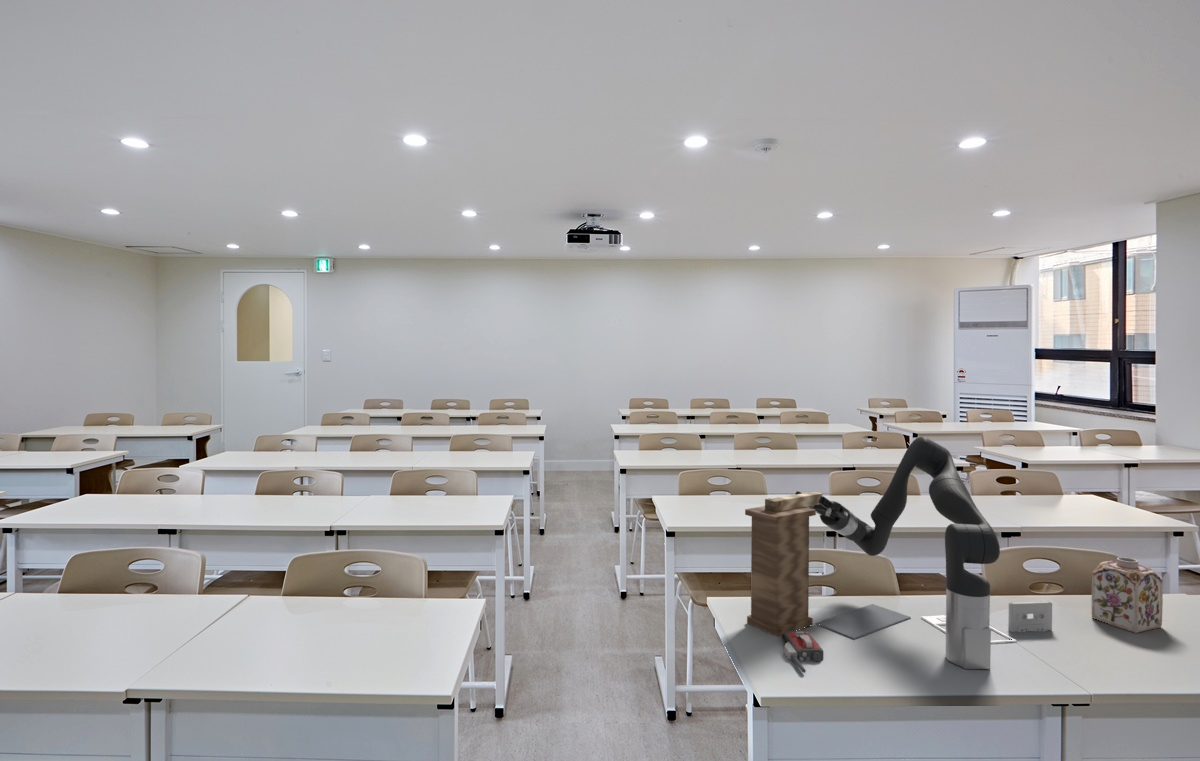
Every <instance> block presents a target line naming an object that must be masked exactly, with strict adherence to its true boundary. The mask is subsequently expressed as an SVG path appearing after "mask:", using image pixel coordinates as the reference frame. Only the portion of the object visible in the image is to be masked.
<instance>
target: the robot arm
mask: <svg viewBox="0 0 1200 761" xmlns="http://www.w3.org/2000/svg"><path fill="white" fill-rule="evenodd" d="M914 468H917V469H919V470H921V471H922V472H923V473H926V474H927V475H929V476H931V478H932V480H931V482H930V483H929V487H928V494H929V498H930V500H931V502H932V504H933V506H934V508H935V509H936V511H937V512H938V514H940V516H942V517H944V518H946V519H947V520H949V521H950V522H952V523H950V524H949V525H947V527H946V529H945V531H944V532H945V533H944V550H945V577H946V580H945V581H946V587H945V588H946V589H945V590H946V591H945V592H946V593H945V596H946V597H945V615H946V625H945V630H946V633H945V658H946V660H947V661H948V662H951V663H952V664H954V665H956V666H959V667H961V668H963V669H966V670H969V669H970V670H990V669H991V655H992V654H991V650H992V649H991V646H992V644H991V641H992V640H991V639H992V637H991V636H992V633H991V632H992V630H991V629H989V626H990V619H991V618H990V613H991V612H990V610H991V607H990V606H991V601H990V600H991V584H990V582H989V580H987V579H985V577H982V576H981V575H980V576H979V575H977V574H975V573H973V572H970V571H968V570H966V569H965V567H964V564H974V565H975V564H976V565H977V564H978V565H990V564H993V563H996V562H997V561H998V559H999V558H1000V554H1001V548H1000V542H999V539H998V537H997V534H996V533H995V531H994V529H993V527H992V525H991V524H989V522H988V520H987V519H986V518H985V517H984V516H983V514H982V513H981V511H980V510H979V508H978V506H976V504H975V502H974V500H973V499H972V496H971V493H970V492H969V490H968V489H967V487H966V485H965V483H964V482H963V480H962V478H961V476H960V474H959V472H958V471H957V468H956V466H955V462H954V458H953V456H952V454H951V452H950V451H949V450H948V449H947V448H945V447H944V446H943V445H941V444H938V443H937V442H935V441H933V440H932V439H930V438H928V437H926V436H918V437H916V438H915V439H914V440H912V442H911V443H910V445H909V446H908V447H907V449H906V451H905V452H904V454H903V456H902V459H901V460H900V462H899V465H898V466H897V468H896V470H895V472H894V475H893V477H892V479H891V481H890V483H889V485H888V486H887V488H886V490H885V492H884V493H883V495H882V497H880V499H879V501H878V502H877V504H875V506H874V508H873V510H872V512H871V513H870V519H871V520H872V522H873V523H874V528H873V527H872V526H871V525H870V524H868V523H866V522H865V521H863V520H861V519H860V518H859V517H857V516H856V515H855V514H854V513H853V512H852V511H851V510H849V509H848V508H846V507H845V506H844V505H842V504H841V503H840V502H839V501H835V500H834V501H833V500H829V499H828V498H827V497H825V496H823V495H822V496H821V497H820V500H819V503H820V504H819V505H813V506H807V507H806V508H810V509H815V510H816V515H818V516H819V517H820V518H819V519H820V521H821V523H823V524H824V525H826V526H827V527H828V528H830V529H831V530H833V531H834V532H836V533H837V534H840V535H842V536H843V537H844V538H846V539H847V540H849V541H851V542H854V543H855V544H856V545H857V546H858V547H859V548H860V550H863V552H864V553H865V554H866V555H868V556H871V557H875V556H878V555H880V554H881V553H882V552H883V551H884V550H885V549H886V547H887V544H888V542H889V539H890V535H891V533H892V530H893V527H894V525H895V524H896V522H897V521H898V519H899V518H900V517H901V515H902V513H904V511H905V508H906V506H907V502H908V484H909V478H910V476H911V473H912V472H913V470H914ZM797 494H803V493H802V492H801V491H798V490H797V491H795V494H794V495H797Z"/></svg>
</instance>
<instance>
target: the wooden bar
mask: <svg viewBox="0 0 1200 761" xmlns="http://www.w3.org/2000/svg"><path fill="white" fill-rule="evenodd" d="M821 496H823V493H822V492H817V491H810V492H803V493H802V494H797V495H795V494H793V495H792V494H791V495H785V496H779V497H774V498H769V497H768V498H765V499H764V506H765V510H767V511H771V512H775V513H778V512H781V511H785V510H791V509H796V508H802V507H807V506H813V505H819V504H820V503H819V500H820V497H821Z"/></svg>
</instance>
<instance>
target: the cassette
mask: <svg viewBox="0 0 1200 761" xmlns="http://www.w3.org/2000/svg"><path fill="white" fill-rule="evenodd" d="M1028 615H1032V616H1028ZM1007 626H1008V628H1007V630H1008V631H1009V632H1010V633H1011V632H1012V633H1015V631H1017V633H1029V632H1028V631H1038V632H1047V631H1046V630H1051V631H1052V630H1053V603H1052V602H1051V601H1029V602H1028V601H1027V602H1022V601H1021V602H1009V603H1008V624H1007ZM1013 631H1014V632H1013ZM1026 631H1027V632H1026Z"/></svg>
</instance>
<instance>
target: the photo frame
mask: <svg viewBox="0 0 1200 761" xmlns="http://www.w3.org/2000/svg"><path fill="white" fill-rule="evenodd" d="M920 619H921V620H923V621H924V622H926V623H928V624H929V625H931V626H933V627H934V628H936V629H938V630H940V631H941V632H943V633H944V634H946V628H943V627H942V626H946V614H945V615H943V614H941V615H927V616H923V615H922V616H920ZM989 629H990V630H991V631H993V632H994V633H996V634H999V635H1000V636H1002V637H1004V638H1005V637H1006V639H998V640H996V639H995V640H991V645H994V644H995V645H996V643H998V644H1007V643H1006V642H1014V643H1017V639H1015V638H1013V637H1011V636H1010V635H1008V634H1006V633H1003V632H1002V631H1000V630H999V629H997V628H995V627H993V626H991V625H989ZM1007 638H1008V639H1007ZM1009 639H1010V640H1009ZM1011 639H1012V640H1011Z"/></svg>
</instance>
